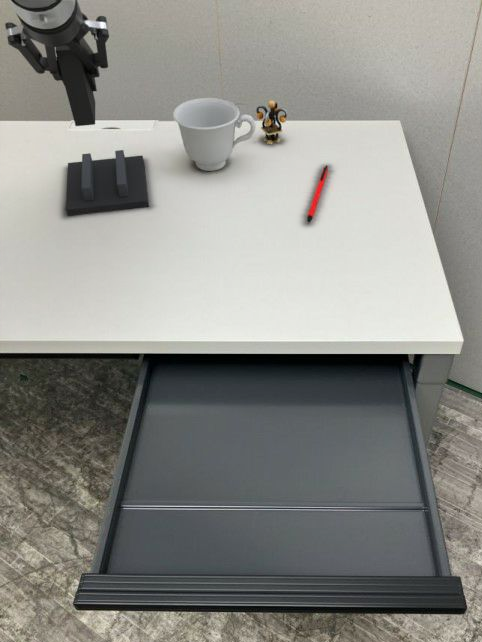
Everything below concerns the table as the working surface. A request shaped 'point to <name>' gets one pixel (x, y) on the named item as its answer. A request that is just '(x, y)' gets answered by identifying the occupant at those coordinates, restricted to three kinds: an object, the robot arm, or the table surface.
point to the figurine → (271, 121)
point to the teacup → (210, 130)
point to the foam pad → (76, 87)
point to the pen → (317, 194)
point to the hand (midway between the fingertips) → (81, 83)
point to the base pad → (106, 184)
